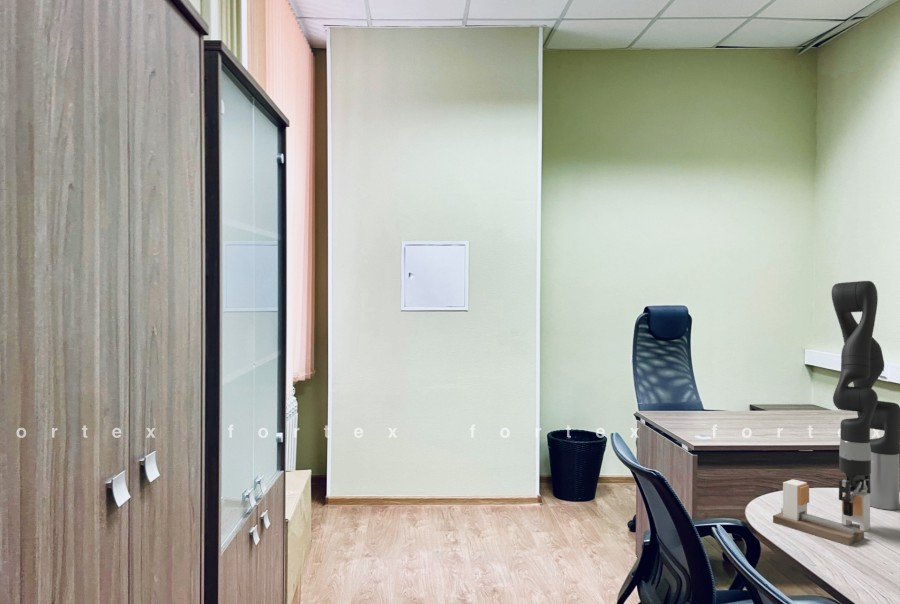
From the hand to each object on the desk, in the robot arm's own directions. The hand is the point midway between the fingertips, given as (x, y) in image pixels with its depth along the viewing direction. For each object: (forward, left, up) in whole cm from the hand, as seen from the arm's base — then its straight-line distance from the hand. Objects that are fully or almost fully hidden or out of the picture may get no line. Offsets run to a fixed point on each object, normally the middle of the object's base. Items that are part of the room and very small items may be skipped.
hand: (854, 512), depth 171 cm
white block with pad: (-1, 0, -4) cm, 4 cm away
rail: (+11, -5, -4) cm, 13 cm away
